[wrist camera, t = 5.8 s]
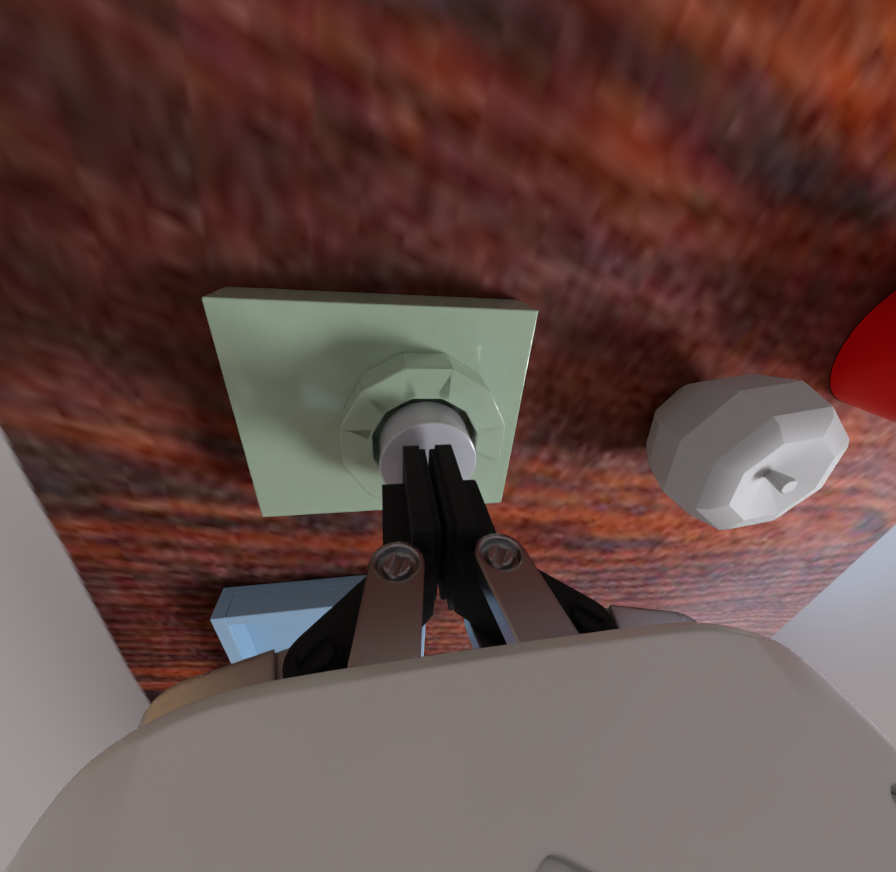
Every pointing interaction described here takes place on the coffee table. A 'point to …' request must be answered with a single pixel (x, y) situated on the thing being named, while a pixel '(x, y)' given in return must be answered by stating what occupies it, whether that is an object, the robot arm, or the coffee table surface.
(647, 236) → the coffee table surface
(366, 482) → the green push button box
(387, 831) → the robot arm
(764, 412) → the apple
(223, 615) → the soap dish
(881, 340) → the mug
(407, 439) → the grey push button
